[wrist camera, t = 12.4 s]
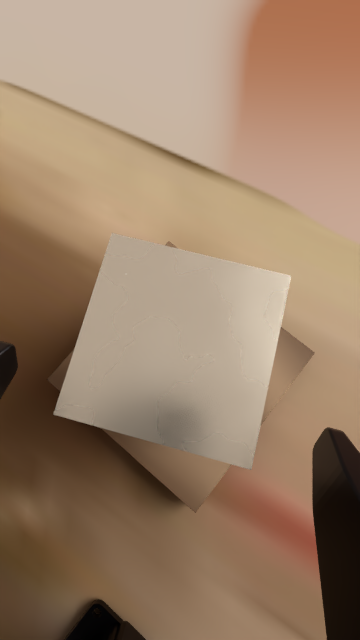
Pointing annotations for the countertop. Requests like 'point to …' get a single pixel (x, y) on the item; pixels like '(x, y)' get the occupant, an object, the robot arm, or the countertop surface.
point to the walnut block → (190, 469)
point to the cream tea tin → (177, 350)
